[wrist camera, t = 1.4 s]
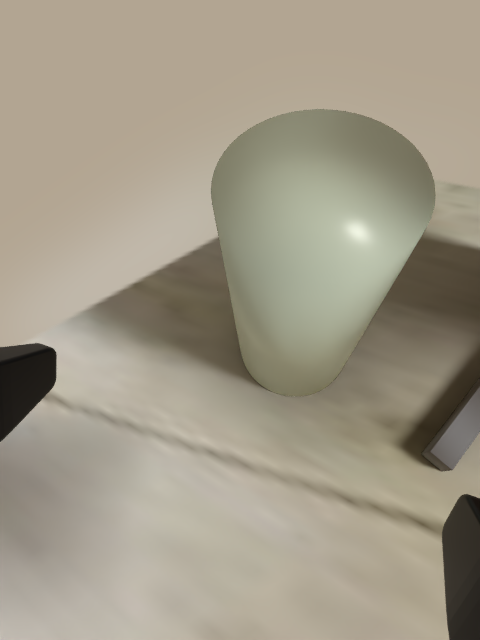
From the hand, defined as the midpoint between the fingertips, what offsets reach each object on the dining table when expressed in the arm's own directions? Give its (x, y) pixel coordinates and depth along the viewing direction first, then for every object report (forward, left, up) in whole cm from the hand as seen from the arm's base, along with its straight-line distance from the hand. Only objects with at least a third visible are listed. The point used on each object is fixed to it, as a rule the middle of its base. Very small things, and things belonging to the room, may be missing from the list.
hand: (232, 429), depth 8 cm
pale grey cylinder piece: (+4, +6, -13) cm, 15 cm away
